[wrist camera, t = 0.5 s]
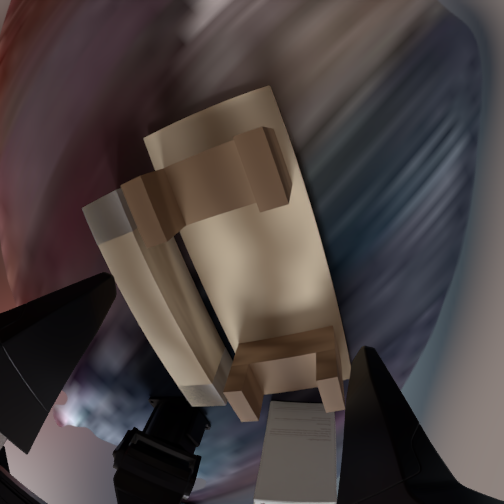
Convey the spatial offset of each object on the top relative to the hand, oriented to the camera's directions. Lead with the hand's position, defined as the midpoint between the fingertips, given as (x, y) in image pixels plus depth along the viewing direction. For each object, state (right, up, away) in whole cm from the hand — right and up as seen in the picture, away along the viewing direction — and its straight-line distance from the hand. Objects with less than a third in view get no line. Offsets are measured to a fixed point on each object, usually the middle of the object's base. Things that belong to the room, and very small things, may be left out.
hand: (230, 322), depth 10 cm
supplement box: (+6, -17, +21) cm, 28 cm away
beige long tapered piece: (+2, +1, +14) cm, 14 cm away
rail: (-6, -1, +16) cm, 17 cm away
